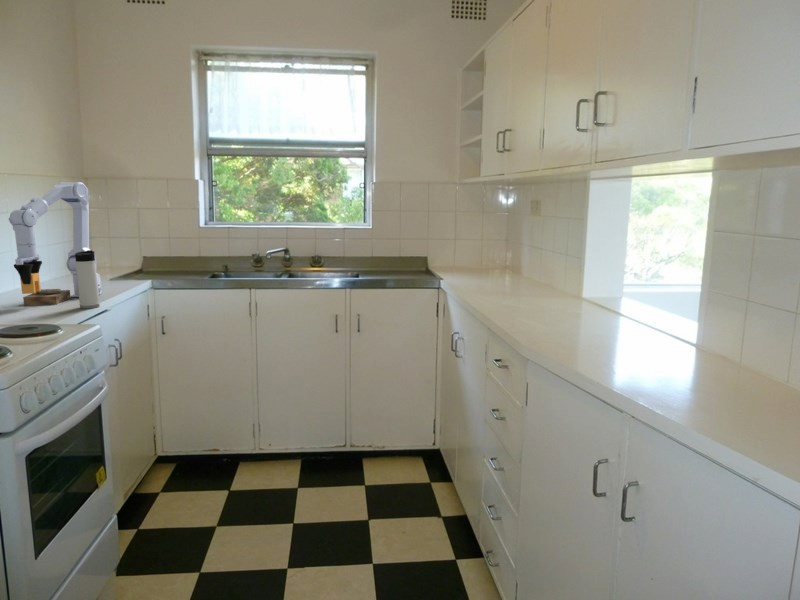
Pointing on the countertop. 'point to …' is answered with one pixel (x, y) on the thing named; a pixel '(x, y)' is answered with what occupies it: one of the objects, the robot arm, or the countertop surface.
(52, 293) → the square wooden frame
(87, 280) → the travel mug
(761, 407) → the countertop surface
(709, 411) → the countertop surface
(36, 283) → the orange notched block
